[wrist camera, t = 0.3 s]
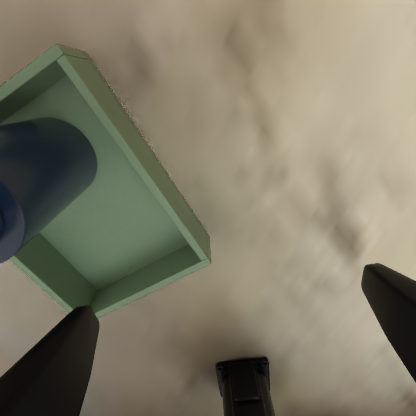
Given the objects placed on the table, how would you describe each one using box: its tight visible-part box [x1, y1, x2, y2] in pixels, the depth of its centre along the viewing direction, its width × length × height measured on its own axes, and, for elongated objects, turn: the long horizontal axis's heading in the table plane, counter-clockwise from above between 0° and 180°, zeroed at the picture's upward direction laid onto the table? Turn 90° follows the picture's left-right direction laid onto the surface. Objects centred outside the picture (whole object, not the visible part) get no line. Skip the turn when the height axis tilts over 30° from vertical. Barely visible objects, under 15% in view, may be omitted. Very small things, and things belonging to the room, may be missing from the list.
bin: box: [0, 44, 211, 318], centre depth 20 cm, size 17×13×4 cm
